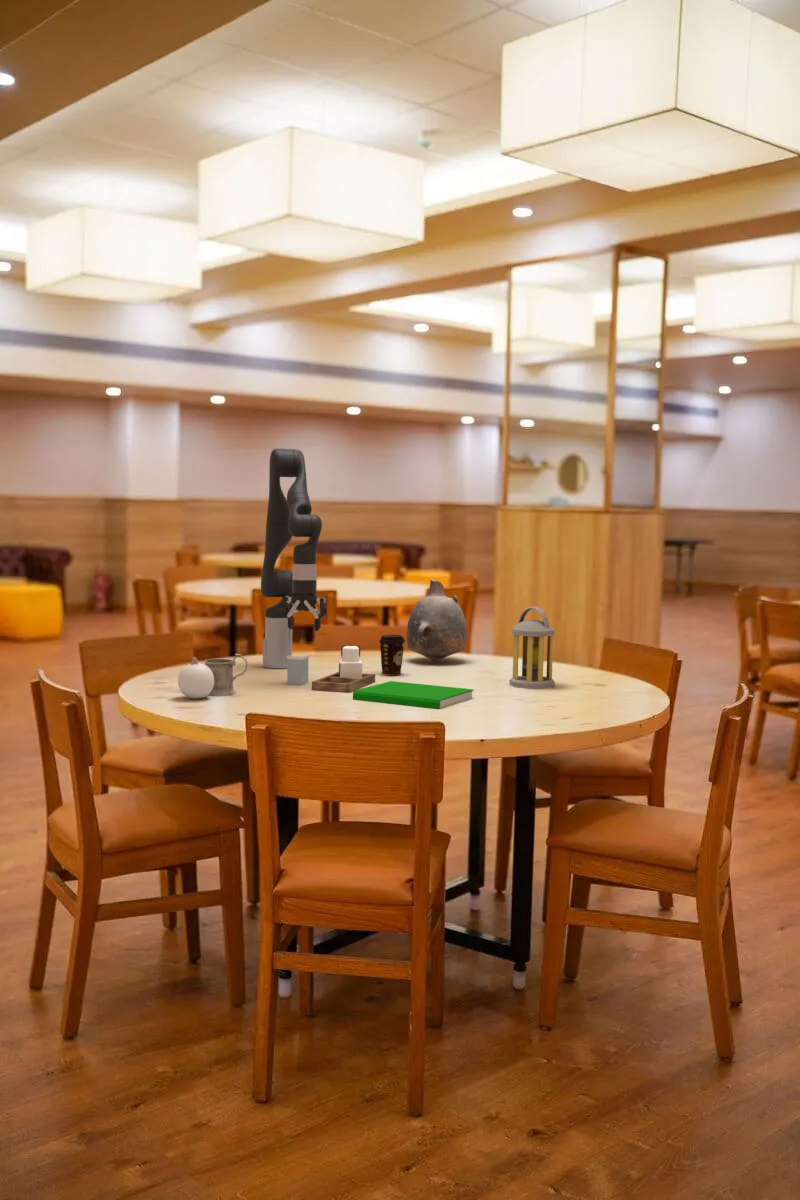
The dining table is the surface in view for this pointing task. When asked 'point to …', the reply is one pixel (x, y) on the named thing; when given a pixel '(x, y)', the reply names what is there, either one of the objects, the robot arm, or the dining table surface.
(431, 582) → the jug
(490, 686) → the dining table surface
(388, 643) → the coffee cup
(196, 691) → the ornament
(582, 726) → the dining table surface
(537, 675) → the lantern
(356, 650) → the medicine bottle
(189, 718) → the dining table surface
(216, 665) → the mug
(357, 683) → the brown flat rectangular frame
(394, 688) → the book
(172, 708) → the dining table surface
